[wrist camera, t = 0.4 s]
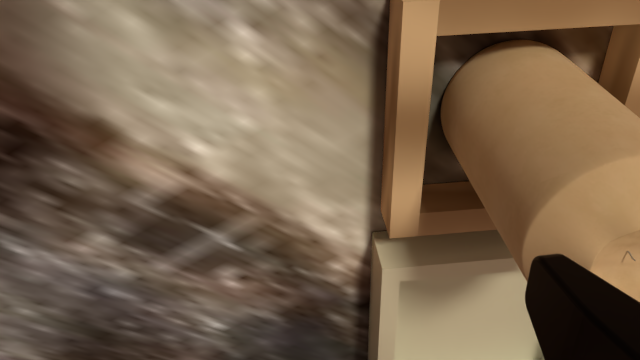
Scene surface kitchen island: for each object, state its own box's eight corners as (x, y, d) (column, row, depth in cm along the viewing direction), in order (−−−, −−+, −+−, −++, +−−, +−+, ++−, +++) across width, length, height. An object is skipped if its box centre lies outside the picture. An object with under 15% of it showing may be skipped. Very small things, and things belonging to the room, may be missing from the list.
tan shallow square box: (592, 193, 26) (615, 219, 24) (380, 209, 25) (389, 238, 24) (659, -30, 21) (695, -14, 19) (390, -16, 20) (403, 1, 18)
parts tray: (548, 359, 33) (567, 396, 31) (366, 377, 32) (374, 417, 30) (593, 213, 27) (621, 248, 25) (372, 232, 26) (382, 269, 24)
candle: (540, 165, 25) (682, 347, 17) (422, 153, 24) (511, 340, 16) (595, 47, 22) (800, 196, 14) (462, 27, 21) (598, 176, 13)
